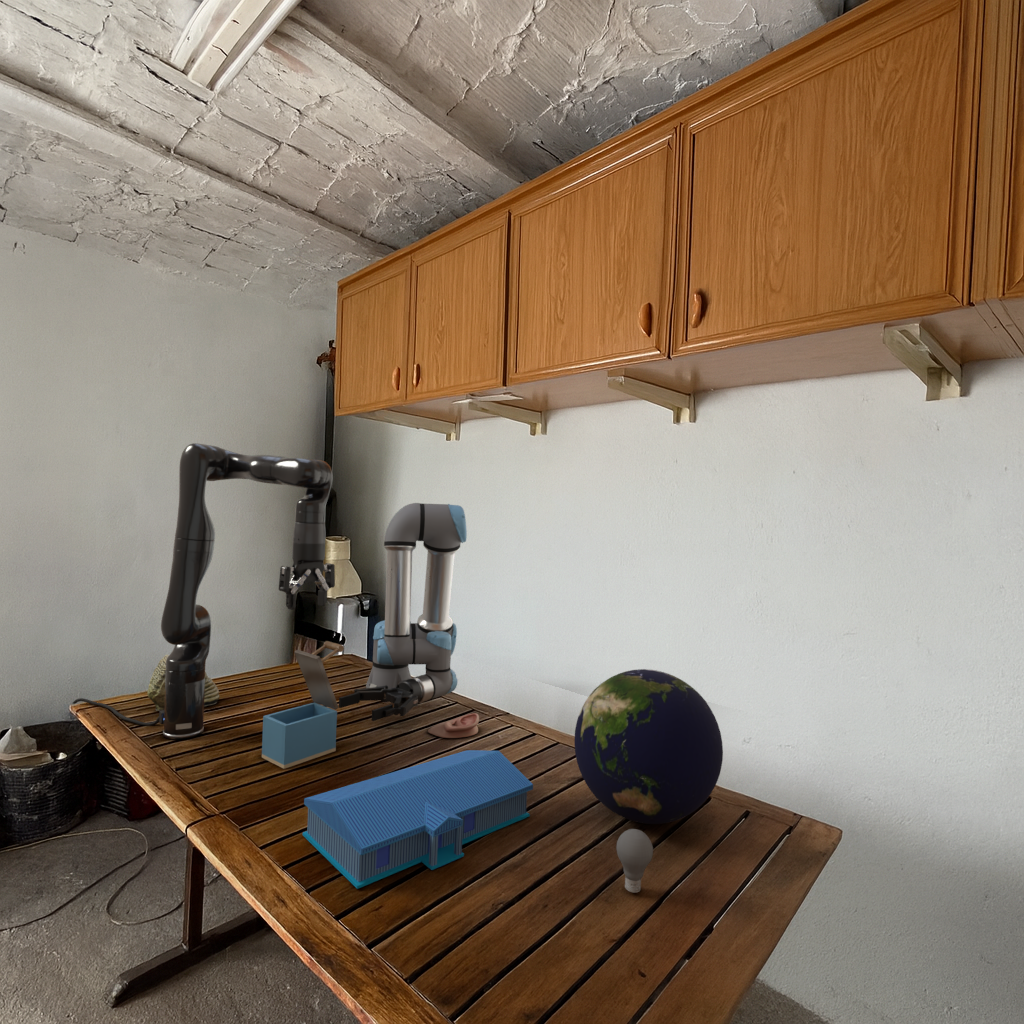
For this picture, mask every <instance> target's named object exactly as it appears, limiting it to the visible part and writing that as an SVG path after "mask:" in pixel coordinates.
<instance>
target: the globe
mask: <svg viewBox="0 0 1024 1024" xmlns="http://www.w3.org/2000/svg"><path fill="white" fill-rule="evenodd" d="M573 741H574V754H575V758H576V759H575V760H576V763H577V766H578V769H579V772H580V775H581V777H582V779H583V781H584V782H585V784H586V786H587V787H588V789H589V790H590V792H591V793H592V794H593V796H594V797H595V798H596V799H597V800H598V801H599V802H600V803H601V804H602V805H603V806H604V807H606V808H607V809H608V810H610V811H611V812H613V813H614V814H615V815H617V816H620V817H622V818H624V819H626V820H628V821H631V822H634V823H639V824H645V825H663V824H668V823H672V822H676V821H679V820H682V819H684V818H686V817H688V816H689V815H692V813H694V812H695V811H697V810H698V809H699V808H700V807H701V806H702V805H703V804H704V803H705V802H706V801H707V800H708V799H709V797H710V796H711V794H712V793H713V791H714V789H715V787H716V786H717V783H718V781H719V778H720V774H721V770H722V766H723V760H724V748H723V739H722V733H721V730H720V727H719V724H718V721H717V718H716V716H715V714H714V712H713V710H712V709H711V707H710V705H709V704H708V702H707V701H706V700H705V698H704V697H703V696H702V695H701V694H700V693H699V692H698V691H697V689H695V688H694V687H692V686H691V685H690V684H689V683H687V682H686V681H684V680H682V678H681V679H680V678H679V677H677V676H675V675H673V674H671V673H667V672H664V671H662V670H661V671H660V670H657V669H651V668H641V669H640V668H639V669H631V670H626V671H622V672H620V673H618V674H614V675H612V676H611V677H608V678H606V680H604V681H603V682H602V683H600V684H599V685H598V686H597V687H595V688H594V689H593V690H592V692H591V693H590V694H589V695H588V697H587V698H586V700H585V701H584V703H583V705H582V707H581V708H580V711H579V713H578V716H577V719H576V723H575V729H574V740H573Z"/></svg>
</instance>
